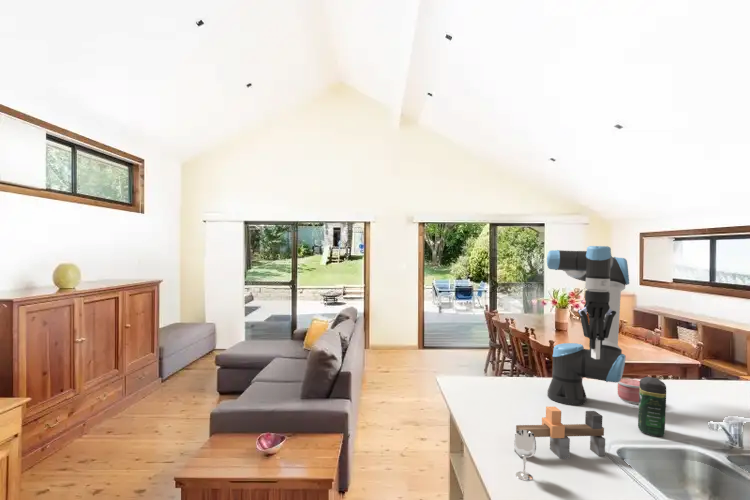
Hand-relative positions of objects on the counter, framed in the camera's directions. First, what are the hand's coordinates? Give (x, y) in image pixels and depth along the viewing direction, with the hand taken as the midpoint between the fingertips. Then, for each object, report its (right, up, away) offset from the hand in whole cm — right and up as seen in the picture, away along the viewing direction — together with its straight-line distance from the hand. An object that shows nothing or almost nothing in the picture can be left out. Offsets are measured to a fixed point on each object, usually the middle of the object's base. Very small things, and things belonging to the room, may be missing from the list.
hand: (595, 358), depth 146 cm
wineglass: (-35, -26, -29) cm, 52 cm away
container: (+32, -27, +33) cm, 53 cm away
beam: (-19, -26, -15) cm, 36 cm away
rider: (-21, -19, -16) cm, 33 cm away
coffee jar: (+21, -27, +3) cm, 34 cm away
